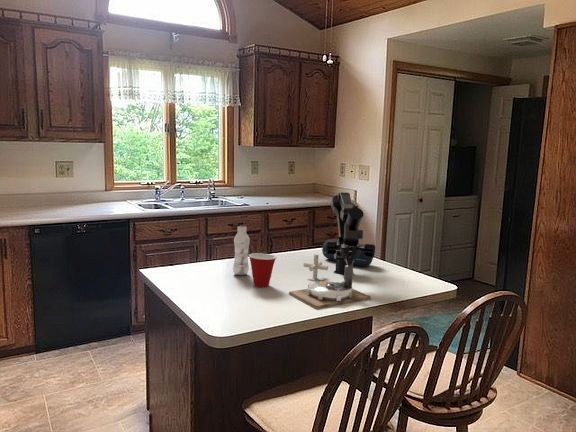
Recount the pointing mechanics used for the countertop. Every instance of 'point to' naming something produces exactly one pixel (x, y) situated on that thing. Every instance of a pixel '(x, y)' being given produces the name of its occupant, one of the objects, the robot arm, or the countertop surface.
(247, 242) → the plastic bottle
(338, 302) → the base board
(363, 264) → the portable speaker
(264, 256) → the plastic cup
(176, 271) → the countertop surface
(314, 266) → the pipe connector
